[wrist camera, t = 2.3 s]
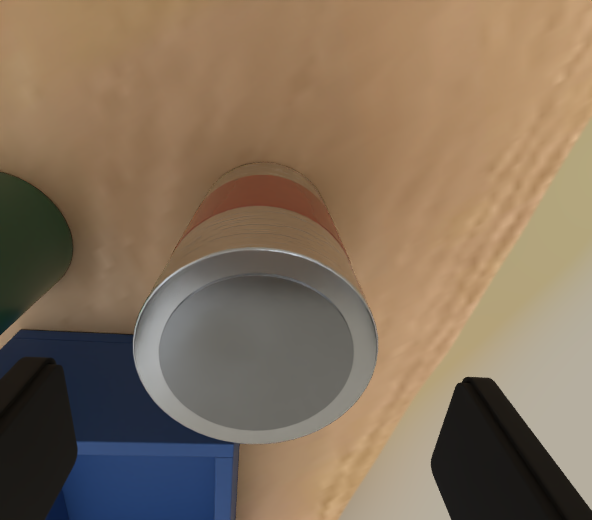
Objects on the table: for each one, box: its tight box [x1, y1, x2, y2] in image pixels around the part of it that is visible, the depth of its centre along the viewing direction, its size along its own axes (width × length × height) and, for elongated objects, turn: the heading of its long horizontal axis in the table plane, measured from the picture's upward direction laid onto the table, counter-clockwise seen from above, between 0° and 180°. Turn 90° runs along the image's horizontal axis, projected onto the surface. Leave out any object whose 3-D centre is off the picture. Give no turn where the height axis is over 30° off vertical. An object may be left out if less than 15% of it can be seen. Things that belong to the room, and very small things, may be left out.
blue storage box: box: [0, 330, 239, 520], centre depth 23 cm, size 19×13×7 cm
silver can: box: [133, 162, 378, 444], centre depth 15 cm, size 7×7×11 cm
